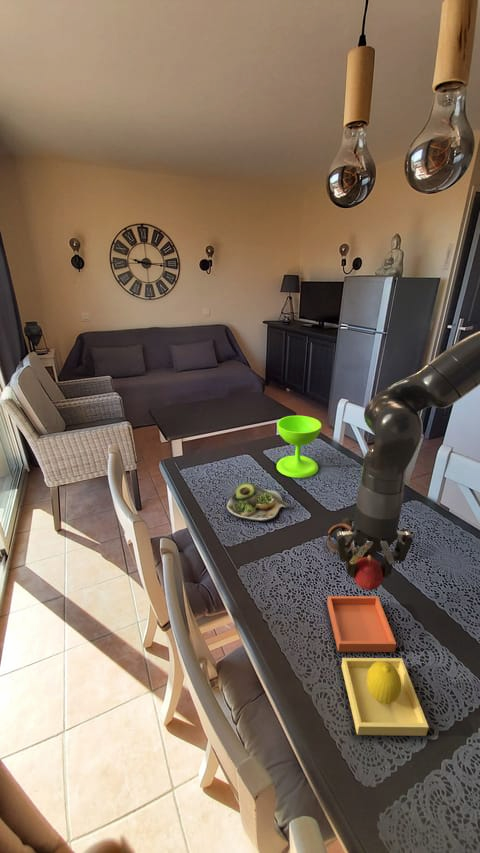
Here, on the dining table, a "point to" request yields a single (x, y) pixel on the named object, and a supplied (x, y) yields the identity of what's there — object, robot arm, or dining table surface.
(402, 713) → the cream tray
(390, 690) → the lemon
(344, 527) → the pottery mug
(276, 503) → the salad plate
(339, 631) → the terracotta tray
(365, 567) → the onion
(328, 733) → the dining table surface
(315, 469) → the wineglass
